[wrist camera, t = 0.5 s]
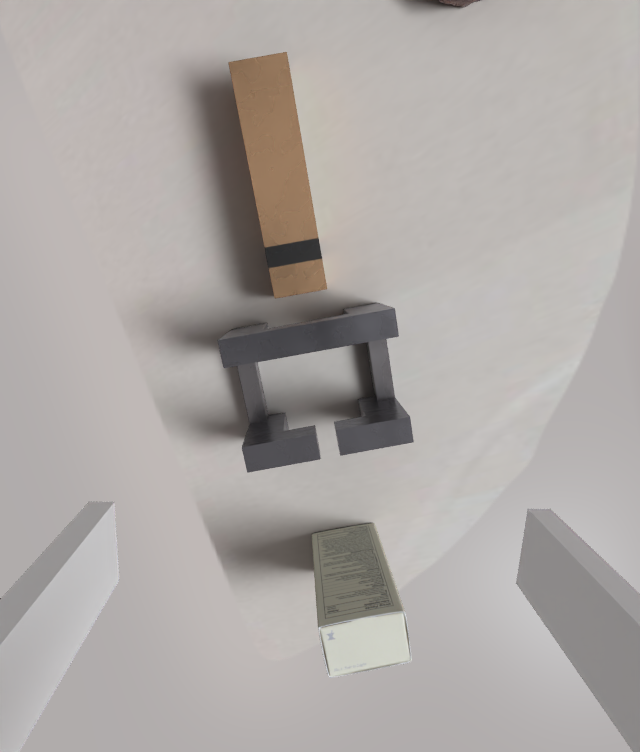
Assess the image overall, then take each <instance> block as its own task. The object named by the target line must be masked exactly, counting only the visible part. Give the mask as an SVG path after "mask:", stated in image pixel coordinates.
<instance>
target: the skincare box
mask: <svg viewBox="0 0 640 752" xmlns="http://www.w3.org/2000/svg"><path fill="white" fill-rule="evenodd" d="M312 550H313V563H314V578H315V592H316V606H317V619H318V630H319V636H320V641H321V647H322V652H323V657H324V661H325V666H326V669H327V674H328V676H329V677H330V678H332V677H338V676H344V675H349V674H355V673H361V672H366V671H370V670H376V669H380V668H386V667H390V666H394V665H399V664H404V663H409V662H411V661H412V658H411V650H410V641H409V633H408V625H407V619H406V613H405V610H404V607H403V605H402V602H401V599H400V596H399V593H398V590H397V587H396V584H395V581H394V578H393V575H392V573H391V570H390V567H389V564H388V561H387V558H386V555H385V552H384V549H383V547H382V543H381V541H380V538H379V535H378V532H377V529H376V526H375V524H374V523H370V524H364V525H357V526H351V527H346V528H340V529H334V530H328V531H324V532H319V533H314V534H312Z"/></svg>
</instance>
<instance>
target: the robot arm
mask: <svg viewBox="0 0 640 752" xmlns="http://www.w3.org/2000/svg"><path fill="white" fill-rule="evenodd" d="M118 581H119V568H118V552H117V535H116V519H115V503H114V502H88V503H87V504H86V506H85V507H84V508H83V509H82V510H81V511H80V512H79V513H78V514H77V516H76V517H75V518H74V519H73V520H72V521H71V522H70V523H69V524H68V525H67V526H66V528H65V529H64V530H63V531H62V532H61V533H60V534H59V535H58V536H57V537H56V539H55V540H54V541H53V542H52V543H51V544H50V545H49V546H48V547H47V548H46V550H45V551H44V552H43V553H42V554H41V555H40V556H39V557H38V558H37V559H36V561H35V562H34V563H33V564H32V565H31V566H30V567H29V568H28V569H27V570H26V571H25V573H24V574H23V575H22V576H21V577H20V578H19V579H18V580H17V581H16V582H15V584H14V585H13V586H12V587H11V588H10V589H9V590H8V591H7V592H6V593H5V595H4V596H3V597H2V598H0V752H19V751H20V750H21V748H22V747H23V745H24V743H25V741H26V740H27V738H28V736H29V734H30V733H31V731H32V729H33V727H34V726H35V724H36V722H37V721H38V719H39V717H40V716H41V714H42V712H43V710H44V709H45V707H46V705H47V704H48V702H49V700H50V698H51V697H52V695H53V693H54V692H55V690H56V688H57V686H58V685H59V683H60V681H61V679H62V678H63V676H64V674H65V673H66V671H67V669H68V667H69V666H70V664H71V662H72V660H73V659H74V657H75V655H76V654H77V652H78V650H79V648H80V647H81V645H82V643H83V641H84V640H85V638H86V636H87V635H88V633H89V631H90V629H91V628H92V626H93V624H94V622H95V621H96V619H97V618H98V616H99V614H100V612H101V611H102V609H103V607H104V605H105V604H106V602H107V600H108V599H109V597H110V595H111V593H112V592H113V590H114V588H115V586H116V585H117V583H118ZM516 584H517V585H518V586H519V588H520V589H521V591H522V592H523V594H524V595H525V597H526V598H527V600H528V601H529V602H530V604H531V605H532V607H533V608H534V610H535V611H536V613H537V614H538V615H539V617H540V618H541V620H542V621H543V622H544V624H545V626H546V627H547V628H548V630H549V631H550V633H551V634H552V636H553V637H554V638H555V640H556V641H557V643H558V644H559V646H560V647H561V649H562V650H563V651H564V653H565V654H566V656H567V657H568V659H569V660H570V661H571V663H572V664H573V666H574V667H575V669H576V670H577V672H578V673H579V675H580V676H581V677H582V679H583V680H584V682H585V683H586V685H587V686H588V687H589V689H590V690H591V692H592V693H593V695H594V696H595V698H596V699H597V700H598V702H599V703H600V705H601V706H602V708H603V709H604V711H605V712H606V713H607V715H608V716H609V718H610V719H611V721H612V722H613V724H614V725H615V726H616V728H617V729H618V731H619V732H620V733H621V735H622V736H623V738H624V739H625V741H626V742H627V744H628V745H629V746H630V748H631V749H632V751H633V752H640V594H639V593H638V592H637V591H636V590H635V589H634V588H633V587H632V586H631V585H630V584H629V583H628V582H627V581H626V580H625V579H623V577H622V576H620V575H619V574H618V573H617V572H616V571H615V570H614V569H613V568H612V567H611V566H610V565H609V564H608V563H607V562H606V561H605V560H604V559H603V558H602V557H600V556H599V555H598V554H597V553H596V552H595V551H594V550H593V549H592V548H591V547H590V546H589V545H588V544H587V543H585V542H584V540H582V538H580V537H579V536H578V535H577V534H576V533H575V532H574V531H573V530H572V529H571V528H570V527H569V526H568V525H567V524H566V523H565V522H564V521H563V520H561V519H560V518H559V517H558V516H557V515H556V514H555V513H554V512H553V511H552V510H551V509H528V511H527V518H526V524H525V530H524V537H523V543H522V549H521V556H520V562H519V569H518V575H517V582H516Z"/></svg>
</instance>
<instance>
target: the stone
mask: <svg viewBox="0 0 640 752" xmlns="http://www.w3.org/2000/svg"><path fill="white" fill-rule="evenodd" d="M439 1H440V2H442V3H445V4H452V5H454V6H461V7H466V6H468V5H469V4H471V3H473V2H477V1H480V0H439Z"/></svg>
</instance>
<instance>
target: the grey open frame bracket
mask: <svg viewBox="0 0 640 752" xmlns="http://www.w3.org/2000/svg"><path fill="white" fill-rule="evenodd" d="M343 312H344V315H339V316H334V317H328V318H323V319H317V320H312V321H306V322H301V323H295V324H290V325H284V326H279V327H273V328H268V324H267V323H264V324H258V325H253V326H247V327H242V328H236V329H232V330H230V331H229V332H228V333H226V334H225V335H224V336H223V337H221V338H220V339H219V340H218V345H219V349H220V354H221V358H222V362H223V367H224V368H228V367H233V366H237V368H238V372H239V377H240V381H241V386H242V391H243V395H244V400H245V404H246V409H247V413H248V418H249V422H250V425H249V428H248V431H247V434H246V437H245V439H244V442H243V445H242V451H243V455H244V460H245V464H246V468H247V472H253V471H258V470H264V469H269V468H275V467H280V466H286V465H291V464H297V463H302V462H308V461H313V460H319V459H320V450H319V444H318V439H317V433H316V428H315V425H314V426H308V427H303V428H297V429H292V430H289V429H288V424H287V419H286V414H285V413H280V414H274V415H269V416H268V411H267V406H266V401H265V397H264V392H263V387H262V382H261V378H260V373H259V368H258V363H257V362H261V361H266V360H272V359H277V358H283V357H288V356H294V355H299V354H305V353H310V352H316V351H321V350H327V349H332V348H338V347H343V346H349V345H354V344H360V343H365V342H366V344H367V350H368V357H369V363H370V369H371V376H372V382H373V389H374V395H375V396H373V397H368V398H362V399H358V403H359V409H360V415H361V417H358V418H352V419H347V420H341V421H336V422H334V424H335V430H336V436H337V441H338V447H339V451H340V456H341V455H346V454H352V453H357V452H363V451H368V450H374V449H379V448H384V447H390V446H395V445H401V444H406V443H412V442H413V435H412V428H411V421H410V416H409V415H408V414H407V412H406V411H405V410H404V409H403V407H402V406H401V405H400V403H399V402H398V401H397V400H396V398H395V395H394V388H393V381H392V375H391V368H390V361H389V354H388V347H387V340H386V339H387V338H393V337H398V336H399V335H398V328H397V321H396V314H395V308H393V307H389V306H386V305H383V304H380V303H374V304H368V305H363V306H357V307H352V308H346V309H343Z"/></svg>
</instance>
